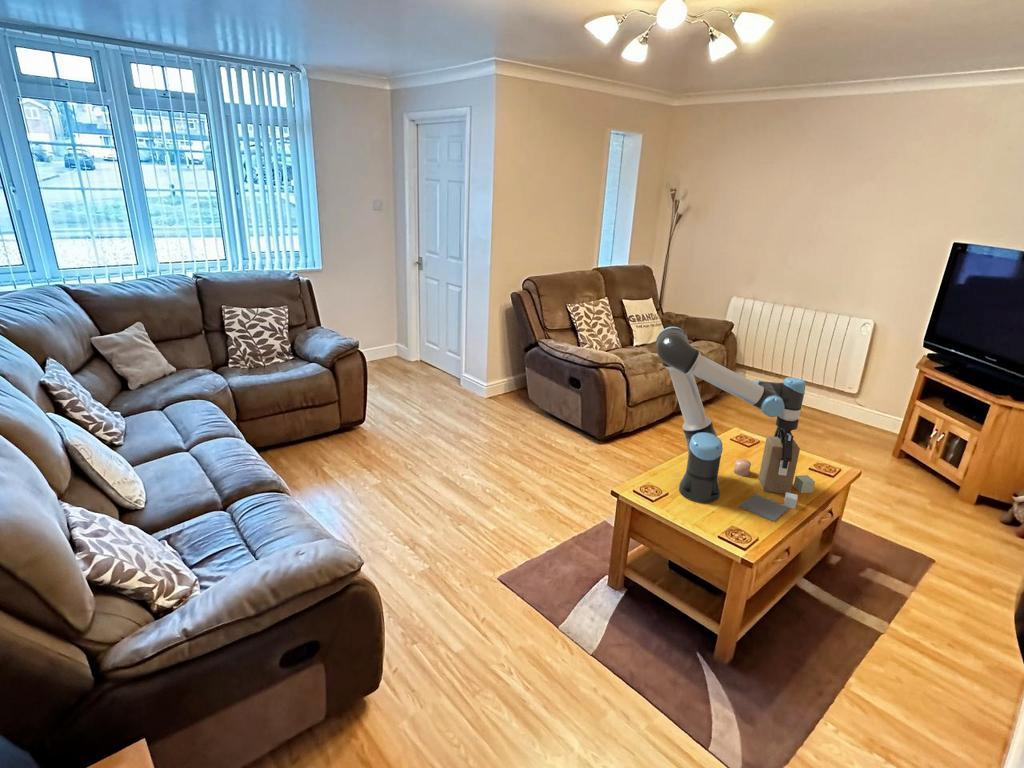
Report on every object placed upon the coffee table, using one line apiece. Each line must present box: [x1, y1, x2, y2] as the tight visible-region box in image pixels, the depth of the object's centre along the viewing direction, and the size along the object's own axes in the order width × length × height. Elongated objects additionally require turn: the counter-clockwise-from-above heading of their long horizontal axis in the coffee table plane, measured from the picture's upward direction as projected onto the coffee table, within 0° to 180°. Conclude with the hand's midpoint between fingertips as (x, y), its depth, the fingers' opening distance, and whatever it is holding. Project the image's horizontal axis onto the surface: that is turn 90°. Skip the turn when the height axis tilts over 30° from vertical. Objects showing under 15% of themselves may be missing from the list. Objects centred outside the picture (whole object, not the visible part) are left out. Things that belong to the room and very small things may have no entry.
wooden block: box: [758, 435, 801, 494], centre depth 215 cm, size 10×10×20 cm
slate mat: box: [738, 493, 790, 523], centre depth 203 cm, size 13×13×1 cm
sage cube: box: [792, 474, 816, 494], centre depth 216 cm, size 5×5×5 cm
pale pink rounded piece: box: [733, 458, 752, 477], centre depth 228 cm, size 6×6×5 cm
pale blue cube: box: [783, 492, 798, 510], centre depth 205 cm, size 4×4×4 cm
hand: (778, 466), depth 215 cm, fingers open, 13 cm apart
